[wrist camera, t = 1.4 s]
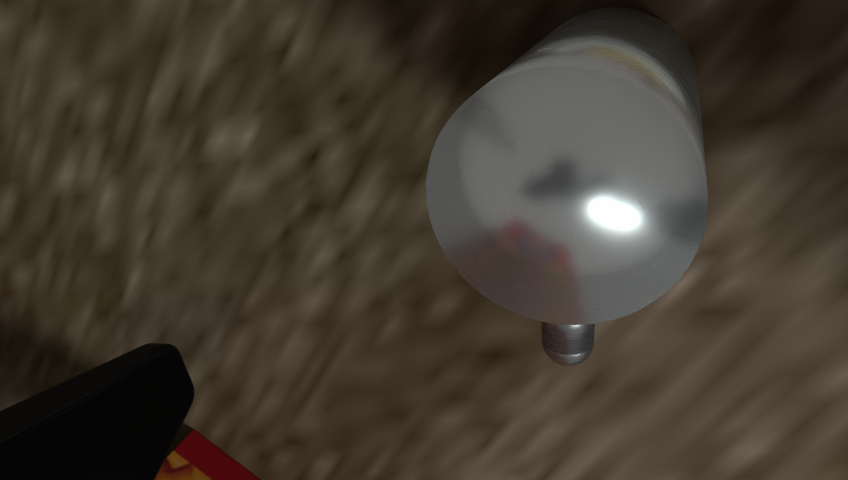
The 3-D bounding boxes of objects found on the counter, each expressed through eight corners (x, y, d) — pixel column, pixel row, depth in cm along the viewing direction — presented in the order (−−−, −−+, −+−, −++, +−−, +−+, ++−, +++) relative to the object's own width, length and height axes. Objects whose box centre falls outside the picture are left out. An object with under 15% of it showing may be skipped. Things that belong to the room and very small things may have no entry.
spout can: (706, 0, 17) (723, 60, 10) (684, 236, 20) (685, 422, 13) (521, 12, 19) (413, 70, 11) (527, 226, 22) (445, 382, 14)
